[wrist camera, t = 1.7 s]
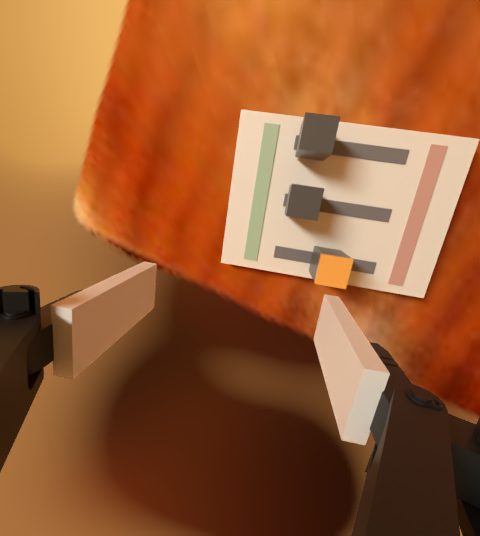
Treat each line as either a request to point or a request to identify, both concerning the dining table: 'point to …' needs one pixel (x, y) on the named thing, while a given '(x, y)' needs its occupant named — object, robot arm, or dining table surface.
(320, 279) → the handle
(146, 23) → the dining table surface
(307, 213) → the handle middle
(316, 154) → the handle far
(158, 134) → the dining table surface
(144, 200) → the dining table surface
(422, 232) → the panel
